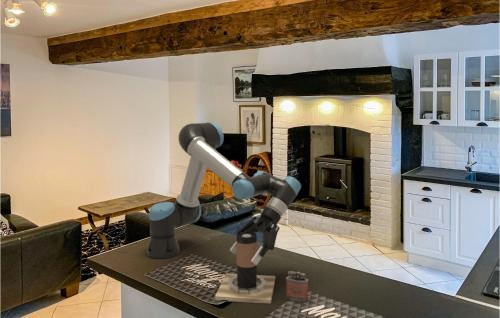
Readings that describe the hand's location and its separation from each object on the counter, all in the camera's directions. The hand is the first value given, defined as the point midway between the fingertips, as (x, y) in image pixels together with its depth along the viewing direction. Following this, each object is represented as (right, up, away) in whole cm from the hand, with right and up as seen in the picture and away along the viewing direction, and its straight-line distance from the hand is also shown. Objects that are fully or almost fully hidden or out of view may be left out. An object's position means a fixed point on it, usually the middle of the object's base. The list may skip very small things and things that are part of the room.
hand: (242, 257), depth 149 cm
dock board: (+2, -13, +3) cm, 13 cm away
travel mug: (+2, -11, +3) cm, 12 cm away
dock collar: (+2, -11, +3) cm, 12 cm away
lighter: (+20, -14, -5) cm, 24 cm away
